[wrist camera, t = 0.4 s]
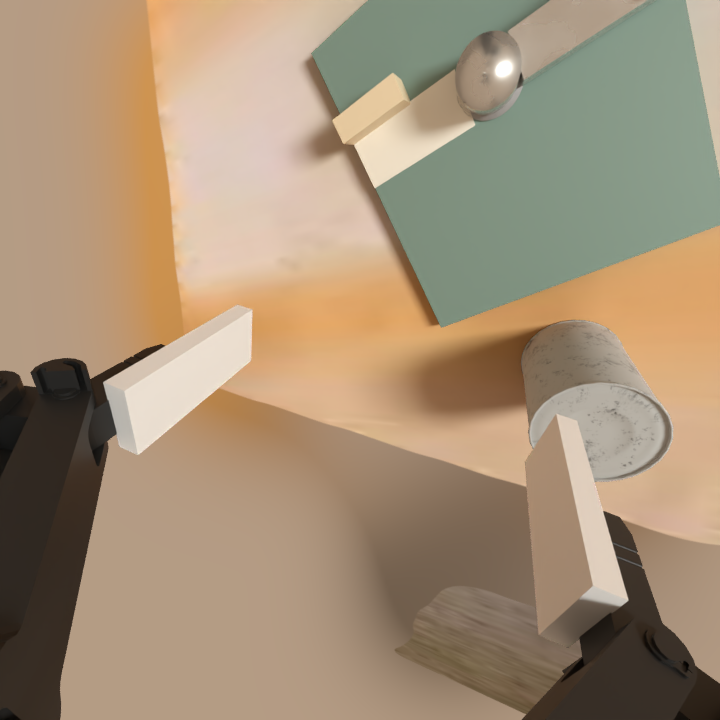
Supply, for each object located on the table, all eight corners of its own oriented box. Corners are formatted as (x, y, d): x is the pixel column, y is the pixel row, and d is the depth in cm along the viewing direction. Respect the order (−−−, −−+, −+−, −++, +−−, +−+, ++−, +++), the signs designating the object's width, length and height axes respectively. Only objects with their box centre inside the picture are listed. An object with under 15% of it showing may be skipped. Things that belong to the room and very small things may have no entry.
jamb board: (317, 56, 33) (295, 44, 29) (630, -232, 21) (656, -309, 18) (442, 323, 41) (437, 339, 37) (720, 219, 29) (750, 228, 26)
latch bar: (472, 127, 30) (469, 123, 27) (451, 71, 29) (445, 60, 26) (685, -7, 23) (716, -34, 20) (670, -87, 22) (699, -130, 19)
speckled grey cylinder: (504, 345, 40) (506, 410, 30) (599, 302, 35) (642, 362, 25) (545, 411, 42) (560, 493, 32) (640, 379, 37) (695, 464, 27)
